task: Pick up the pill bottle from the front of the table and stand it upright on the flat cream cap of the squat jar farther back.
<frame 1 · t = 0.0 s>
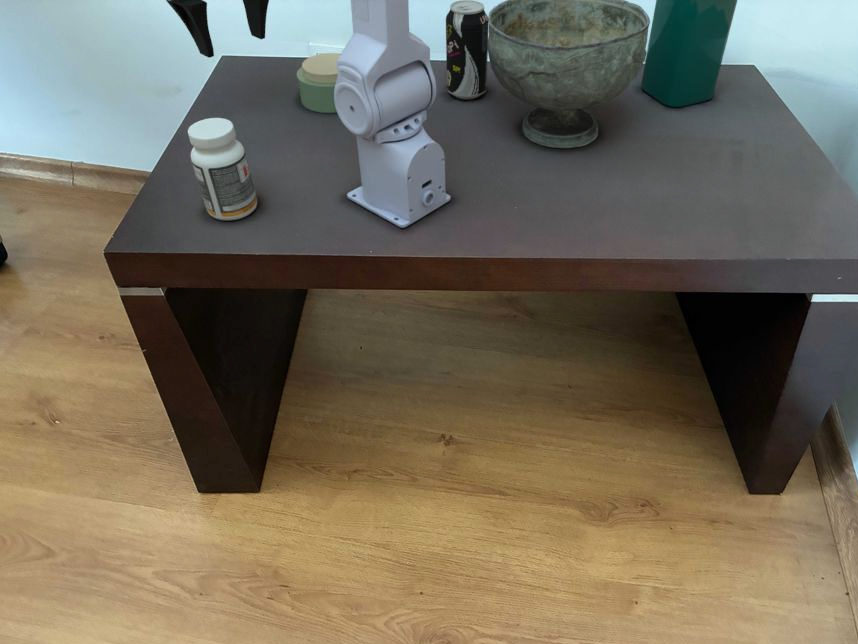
hand: (233, 45, 89), 10 cm above the table, tool pointing down, fingers open, 7 cm apart
pill bottle: (233, 210, 81), on the table
pitcher: (678, 96, 102), on the table
bowl: (555, 130, 95), on the table
squat jar: (333, 98, 101), on the table
beverage can: (466, 94, 103), on the table
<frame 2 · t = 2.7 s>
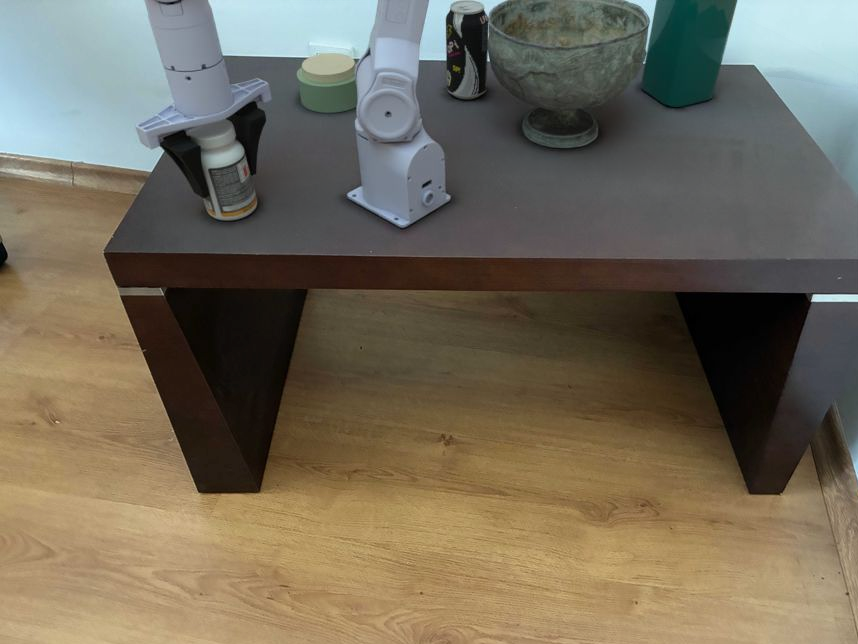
hand: (226, 182, 79), 3 cm above the table, tool pointing down, fingers closed on pill bottle, 5 cm apart
pill bottle: (233, 210, 81), on the table, touching gripper
everything else where it was.
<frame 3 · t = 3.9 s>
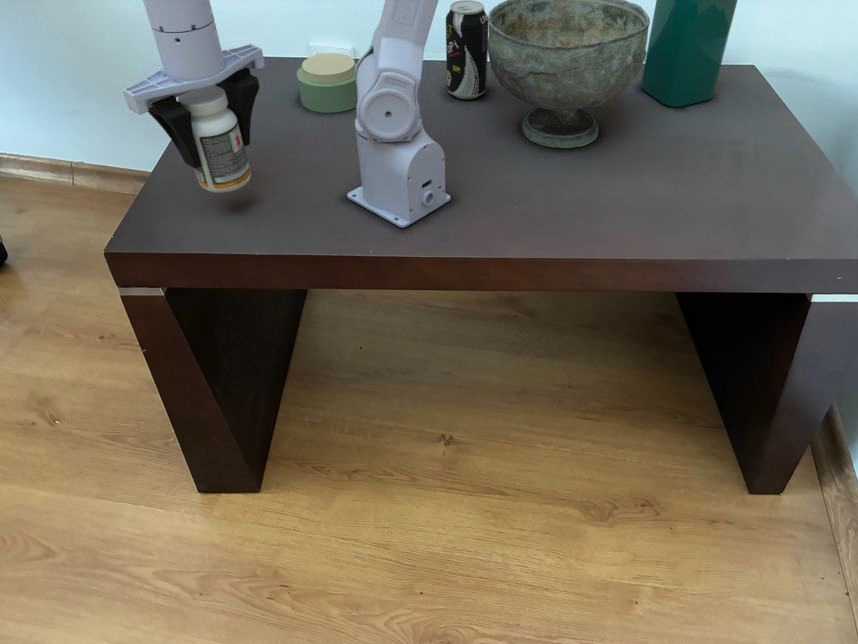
hand: (218, 153, 76), 7 cm above the table, tool pointing down, fingers closed on pill bottle, 5 cm apart
pill bottle: (226, 182, 79), point 3 cm above the table, touching gripper
everything else where it was.
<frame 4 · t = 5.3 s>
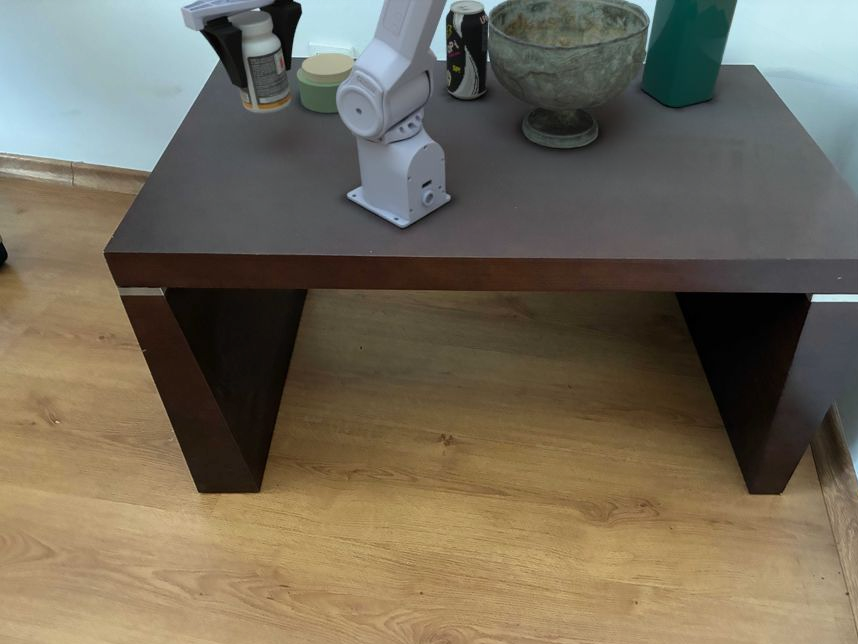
hand: (262, 76, 82), 10 cm above the table, tool pointing down, fingers closed on pill bottle, 5 cm apart
pill bottle: (267, 106, 85), point 7 cm above the table, touching gripper
everything else where it was.
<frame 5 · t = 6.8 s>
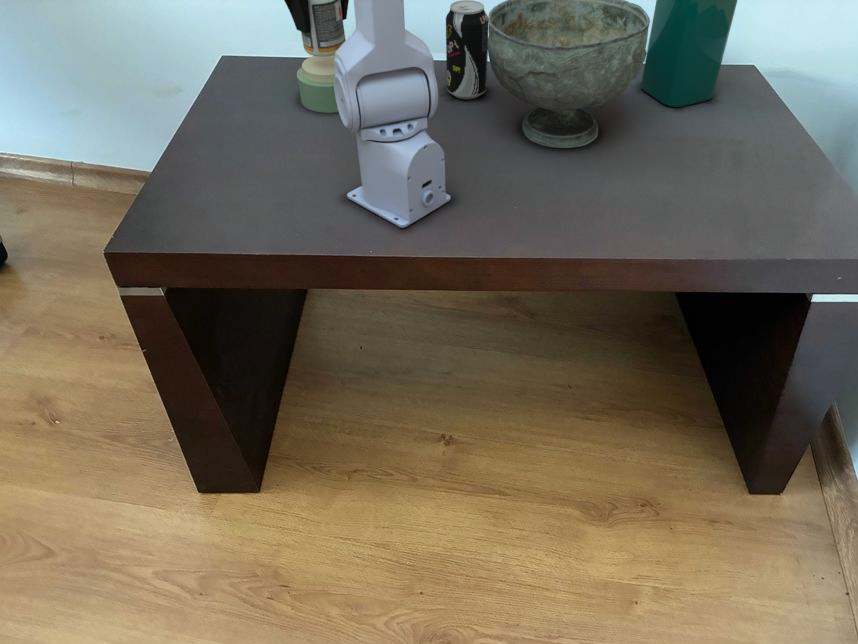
hand: (322, 24, 94), 10 cm above the table, tool pointing down, fingers closed on pill bottle, 5 cm apart
pill bottle: (325, 51, 96), point 7 cm above the table, touching gripper
everything else where it was.
when the fingers open (8 cm above the table, at t = 8.0 s): pill bottle stays where it is, resting on squat jar.
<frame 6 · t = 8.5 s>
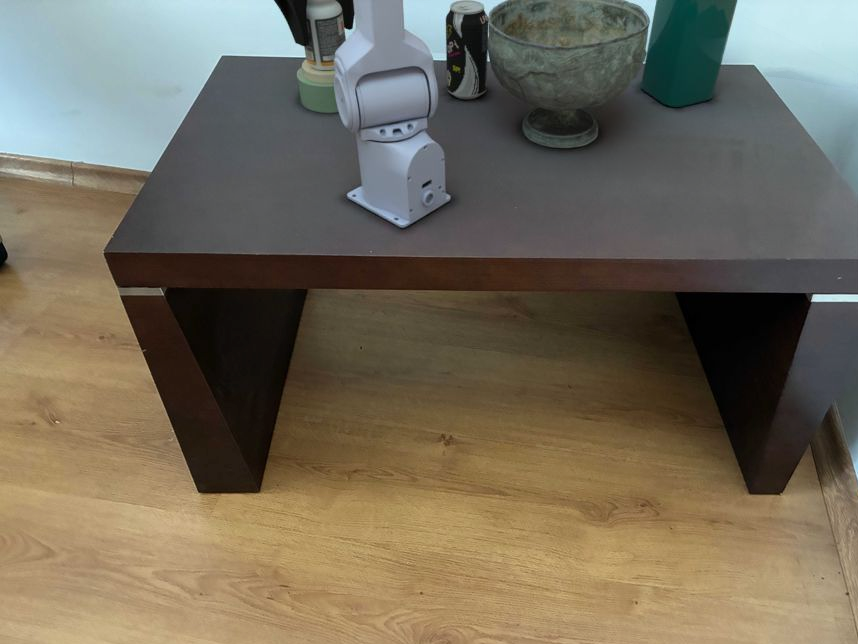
hand: (324, 35, 95), 9 cm above the table, tool pointing down, fingers open, 7 cm apart
pill bottle: (327, 64, 98), point 5 cm above the table, touching squat jar
squat jar: (333, 98, 101), on the table, touching pill bottle
everything else where it was.
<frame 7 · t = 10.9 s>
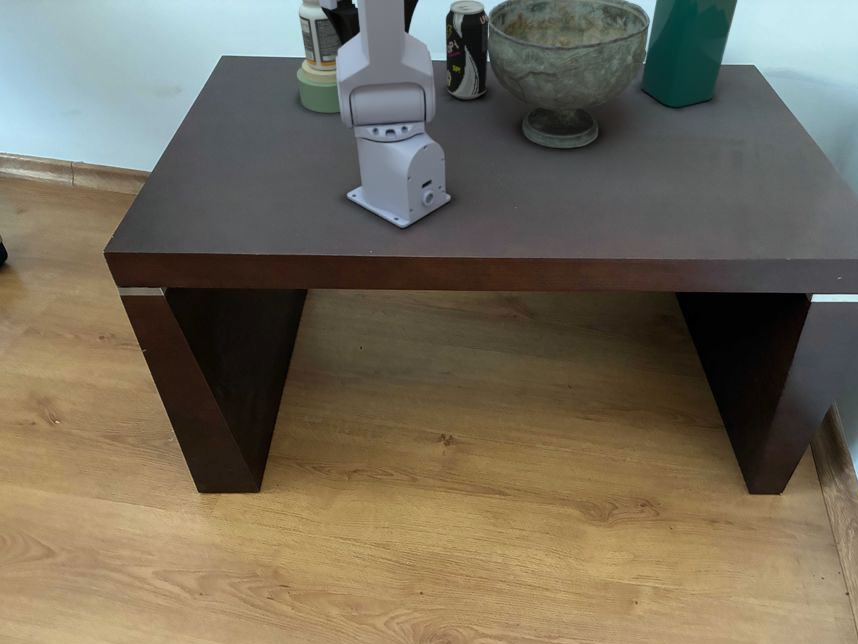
hand: (377, 53, 90), 9 cm above the table, tool pointing down, fingers open, 7 cm apart
nothing on the table moved.
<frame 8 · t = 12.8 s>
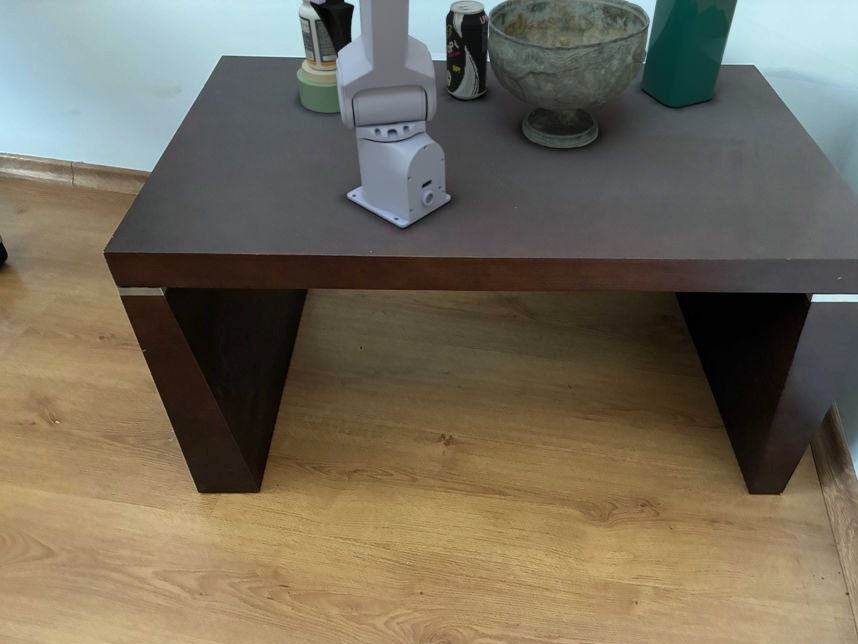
hand: (368, 49, 88), 10 cm above the table, tool pointing down, fingers open, 7 cm apart
nothing on the table moved.
at the end: pill bottle 0.1 cm off-centre on the squat jar, point 4.8 cm above the squat jar's base; pill bottle tilted 0°; the gripper is holding nothing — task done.
